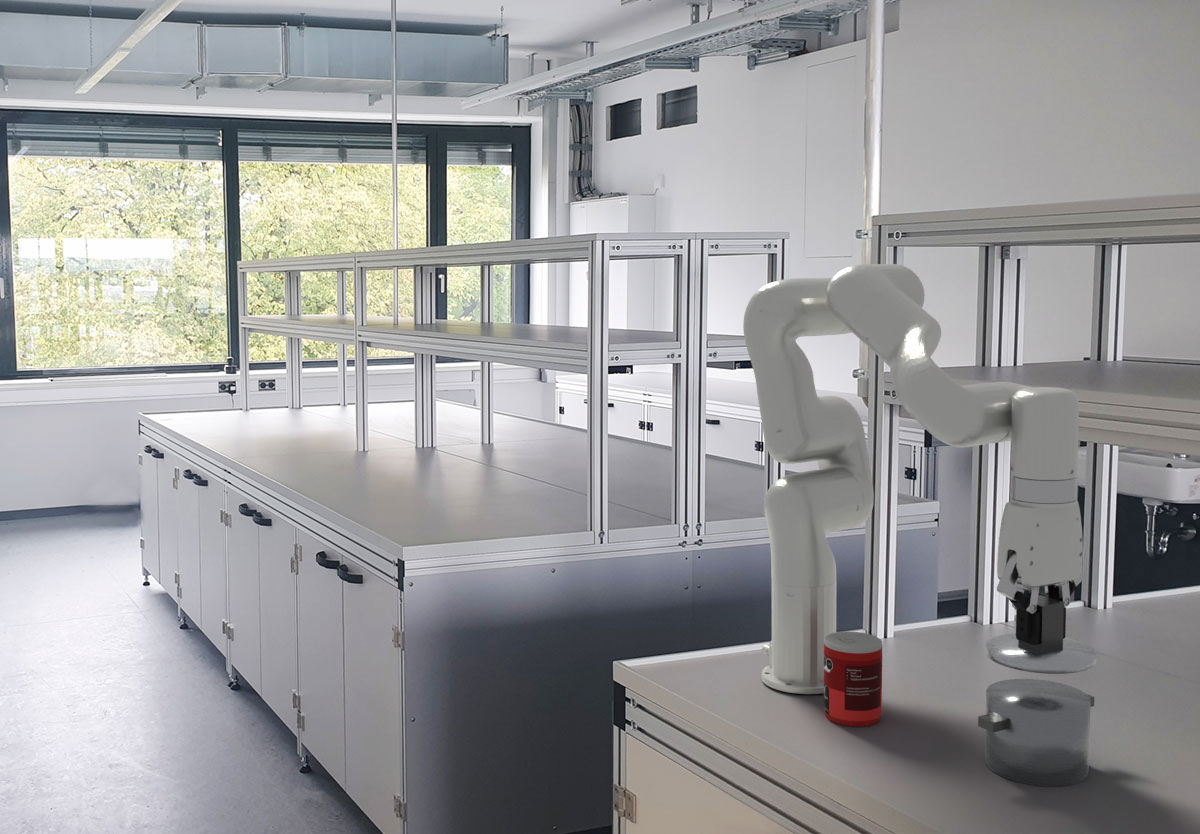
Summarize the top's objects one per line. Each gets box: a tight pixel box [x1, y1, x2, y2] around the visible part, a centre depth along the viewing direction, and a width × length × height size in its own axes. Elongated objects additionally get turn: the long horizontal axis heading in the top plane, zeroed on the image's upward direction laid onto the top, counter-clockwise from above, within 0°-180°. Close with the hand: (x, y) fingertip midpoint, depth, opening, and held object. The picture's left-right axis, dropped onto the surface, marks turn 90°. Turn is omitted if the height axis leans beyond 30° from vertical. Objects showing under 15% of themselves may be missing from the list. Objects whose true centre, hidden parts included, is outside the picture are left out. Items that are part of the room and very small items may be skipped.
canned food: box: [823, 631, 883, 728], centre depth 163 cm, size 8×8×11 cm
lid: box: [985, 594, 1097, 675], centre depth 144 cm, size 13×13×7 cm
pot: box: [977, 678, 1095, 788], centre depth 146 cm, size 12×17×9 cm
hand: (1040, 637), depth 144 cm, fingers closed on lid, 3 cm apart
